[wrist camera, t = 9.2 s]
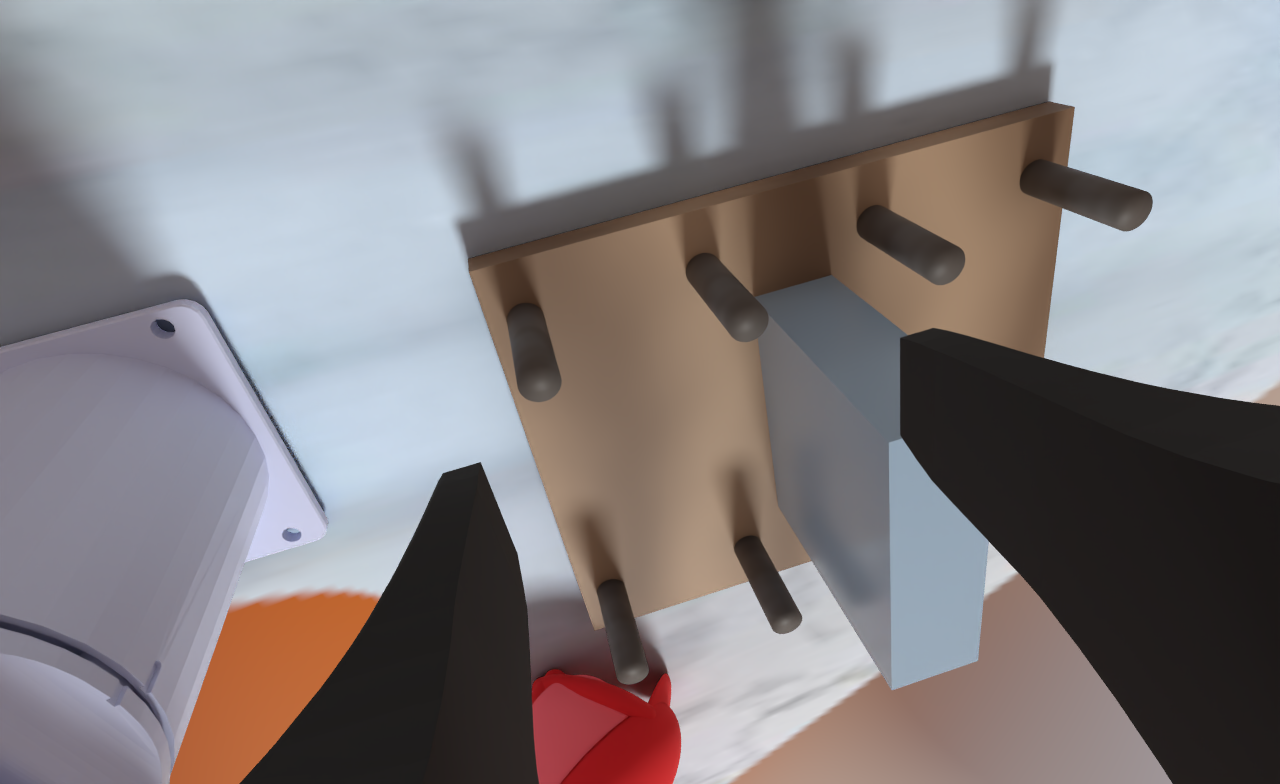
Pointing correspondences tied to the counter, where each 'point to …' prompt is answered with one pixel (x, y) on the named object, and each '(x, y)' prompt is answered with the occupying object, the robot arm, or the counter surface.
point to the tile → (866, 484)
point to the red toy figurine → (603, 732)
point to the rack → (756, 341)
